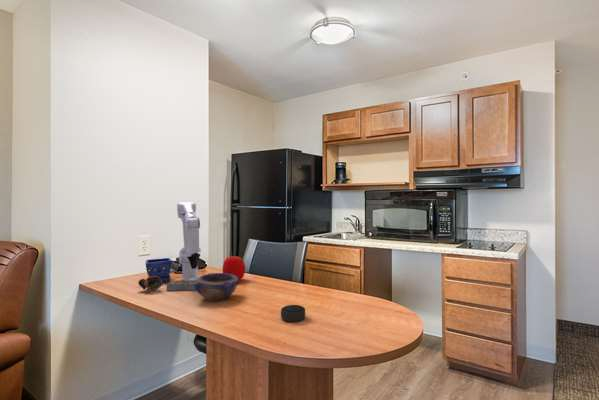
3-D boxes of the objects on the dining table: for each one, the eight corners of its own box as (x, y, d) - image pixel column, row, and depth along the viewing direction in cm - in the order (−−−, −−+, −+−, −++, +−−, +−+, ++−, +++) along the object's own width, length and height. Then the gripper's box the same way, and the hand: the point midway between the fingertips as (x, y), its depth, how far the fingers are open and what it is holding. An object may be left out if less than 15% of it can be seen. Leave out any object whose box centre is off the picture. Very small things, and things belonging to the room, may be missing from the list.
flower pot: (145, 280, 194) (145, 259, 194) (170, 277, 200) (170, 257, 200) (146, 285, 182) (145, 262, 182) (172, 282, 188) (172, 260, 188)
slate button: (190, 286, 175) (190, 278, 175) (199, 286, 174) (198, 278, 174) (187, 289, 170) (187, 280, 170) (196, 289, 170) (195, 280, 170)
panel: (173, 286, 177) (173, 280, 177) (219, 286, 176) (218, 280, 176) (166, 290, 169) (166, 284, 169) (214, 290, 168) (214, 284, 168)
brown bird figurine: (165, 288, 176) (166, 276, 172) (157, 301, 167) (158, 288, 164) (141, 283, 175) (142, 271, 171) (132, 296, 167) (133, 283, 163)
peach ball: (177, 287, 175) (177, 278, 175) (185, 286, 175) (185, 278, 175) (173, 289, 171) (173, 280, 171) (182, 289, 170) (182, 280, 170)
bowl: (228, 305, 143) (228, 281, 143) (189, 303, 146) (188, 280, 146) (244, 293, 160) (243, 272, 160) (208, 292, 164) (208, 271, 164)
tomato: (218, 282, 183) (217, 256, 183) (228, 278, 194) (228, 253, 194) (239, 283, 179) (238, 256, 179) (249, 278, 190) (248, 253, 190)
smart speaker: (291, 313, 131) (291, 302, 131) (310, 317, 125) (310, 306, 125) (276, 320, 124) (275, 308, 124) (294, 325, 118) (294, 313, 118)
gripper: (191, 240, 181) (191, 265, 181) (179, 243, 166) (180, 271, 166) (204, 239, 180) (204, 265, 180) (193, 243, 166) (194, 271, 166)
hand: (194, 268), depth 173 cm, fingers closed
